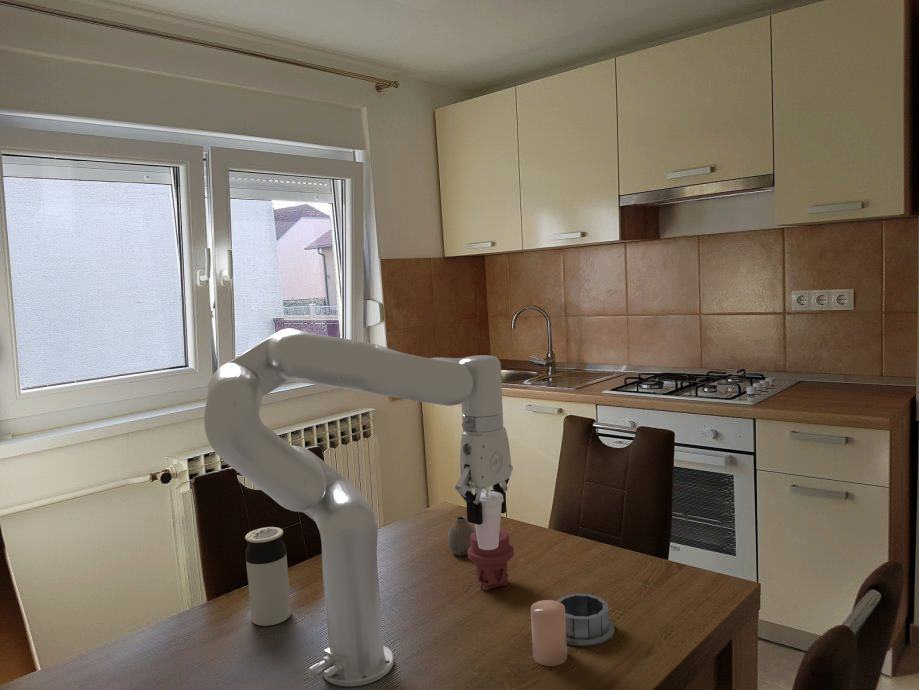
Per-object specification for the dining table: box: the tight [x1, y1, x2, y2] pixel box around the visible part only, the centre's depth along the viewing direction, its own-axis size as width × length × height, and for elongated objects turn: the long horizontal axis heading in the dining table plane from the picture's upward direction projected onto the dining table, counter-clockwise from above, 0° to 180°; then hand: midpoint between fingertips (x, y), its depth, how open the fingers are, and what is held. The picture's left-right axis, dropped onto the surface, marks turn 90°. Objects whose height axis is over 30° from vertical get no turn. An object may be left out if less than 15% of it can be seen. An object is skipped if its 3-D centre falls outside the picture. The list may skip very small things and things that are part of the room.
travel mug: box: [244, 526, 292, 627], centre depth 143 cm, size 8×8×18 cm
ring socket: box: [555, 593, 616, 648], centre depth 132 cm, size 12×12×5 cm
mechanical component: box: [467, 528, 515, 591], centre depth 153 cm, size 12×10×10 cm
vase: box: [447, 516, 476, 557], centre depth 171 cm, size 7×7×9 cm
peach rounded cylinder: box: [530, 599, 568, 667], centre depth 123 cm, size 6×6×9 cm
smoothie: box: [472, 487, 504, 550], centre depth 130 cm, size 6×6×14 cm
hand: (487, 516), depth 130 cm, fingers closed on smoothie, 6 cm apart
